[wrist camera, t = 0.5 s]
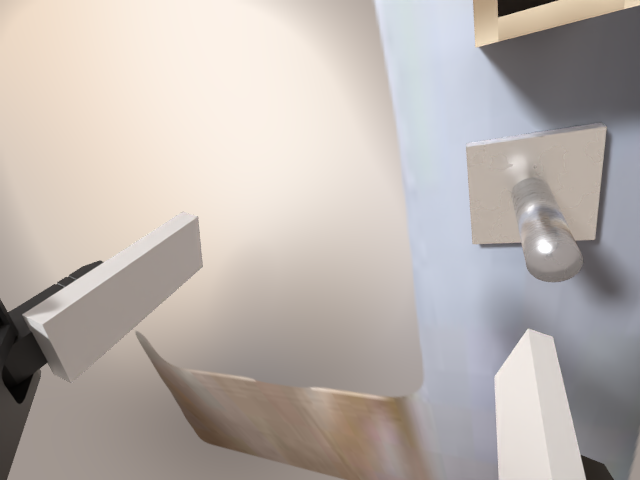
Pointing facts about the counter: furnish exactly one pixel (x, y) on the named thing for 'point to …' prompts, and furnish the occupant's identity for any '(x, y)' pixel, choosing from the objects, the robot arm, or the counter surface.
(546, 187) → the post stand
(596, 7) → the birch sleeve
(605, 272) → the counter surface
